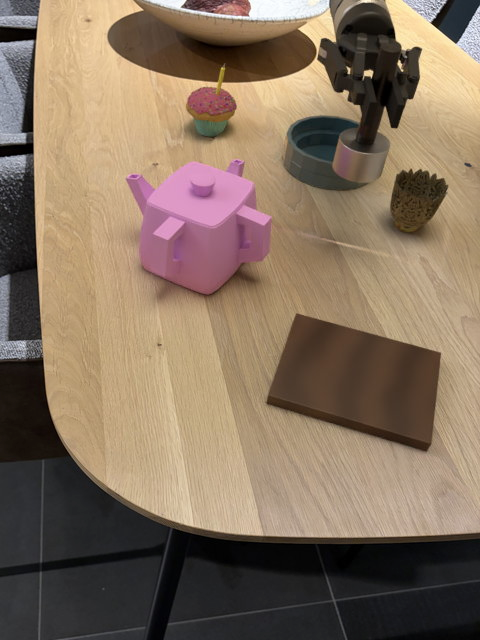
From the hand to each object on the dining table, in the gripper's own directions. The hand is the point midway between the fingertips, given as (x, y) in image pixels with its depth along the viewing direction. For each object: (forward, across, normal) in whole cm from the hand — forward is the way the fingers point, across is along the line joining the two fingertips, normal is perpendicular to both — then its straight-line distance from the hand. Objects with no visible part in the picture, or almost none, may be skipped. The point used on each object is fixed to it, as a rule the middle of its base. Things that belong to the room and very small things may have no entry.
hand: (384, 115), depth 67 cm
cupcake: (-34, +20, -22) cm, 46 cm away
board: (+21, 0, -22) cm, 30 cm away
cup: (-11, -11, -22) cm, 27 cm away
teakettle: (0, +20, -22) cm, 30 cm away
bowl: (-26, 0, -22) cm, 34 cm away
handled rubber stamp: (-5, 0, -10) cm, 11 cm away
